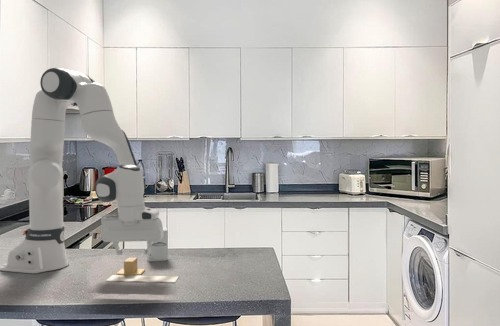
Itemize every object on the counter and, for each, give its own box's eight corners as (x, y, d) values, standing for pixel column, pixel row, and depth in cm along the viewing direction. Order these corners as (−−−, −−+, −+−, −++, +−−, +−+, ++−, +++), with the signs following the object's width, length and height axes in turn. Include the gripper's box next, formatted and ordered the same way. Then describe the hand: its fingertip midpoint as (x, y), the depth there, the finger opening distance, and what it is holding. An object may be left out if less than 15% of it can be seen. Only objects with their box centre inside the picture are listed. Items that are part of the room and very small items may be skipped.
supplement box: (147, 265, 170) (147, 230, 170) (146, 259, 177) (146, 227, 177) (168, 263, 172) (167, 230, 172) (166, 258, 179) (166, 226, 179)
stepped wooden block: (116, 275, 153) (116, 261, 153) (121, 270, 159) (121, 257, 158) (140, 275, 153) (140, 261, 152) (144, 270, 158) (144, 257, 158)
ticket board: (102, 285, 146) (102, 280, 146) (116, 273, 159) (116, 269, 159) (177, 287, 145) (177, 282, 145) (185, 275, 158) (185, 270, 158)
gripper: (97, 215, 152) (99, 257, 153) (159, 214, 151) (161, 256, 152) (104, 212, 158) (106, 252, 159) (163, 211, 157) (165, 251, 158)
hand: (133, 254), depth 155 cm, fingers open, 8 cm apart
